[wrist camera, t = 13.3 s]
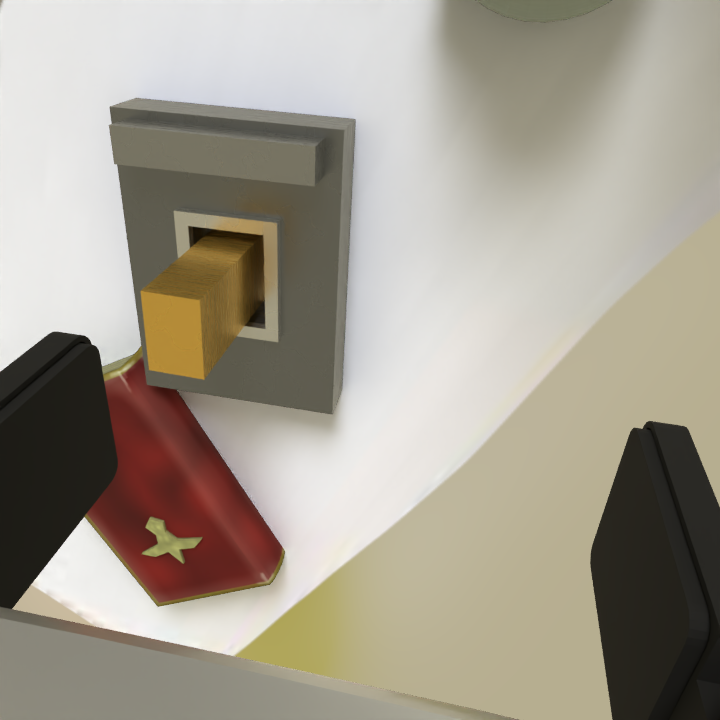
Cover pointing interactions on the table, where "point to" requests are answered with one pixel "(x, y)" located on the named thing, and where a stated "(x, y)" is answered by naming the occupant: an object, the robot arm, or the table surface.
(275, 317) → the grey box with slot
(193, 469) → the hardcover book
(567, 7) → the air freshener
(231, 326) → the brass peg in socket
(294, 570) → the table surface
